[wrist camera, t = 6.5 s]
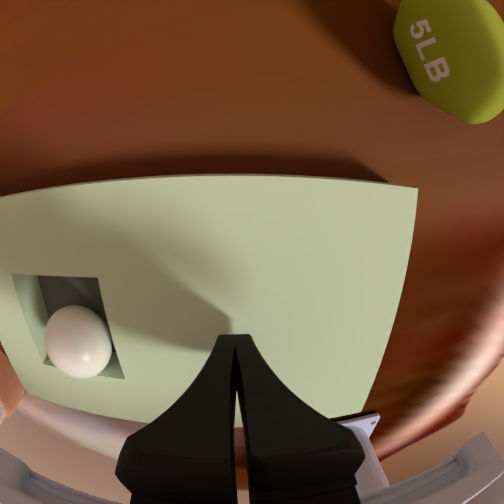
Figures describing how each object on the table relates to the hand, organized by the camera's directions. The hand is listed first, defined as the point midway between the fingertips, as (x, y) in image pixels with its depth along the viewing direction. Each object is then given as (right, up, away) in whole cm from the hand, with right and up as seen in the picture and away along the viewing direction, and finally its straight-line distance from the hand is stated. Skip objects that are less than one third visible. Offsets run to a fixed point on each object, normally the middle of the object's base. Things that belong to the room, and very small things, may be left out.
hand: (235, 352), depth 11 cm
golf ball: (-9, 0, +1) cm, 9 cm away
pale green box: (-4, +1, +3) cm, 5 cm away
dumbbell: (+16, +18, -1) cm, 24 cm away
